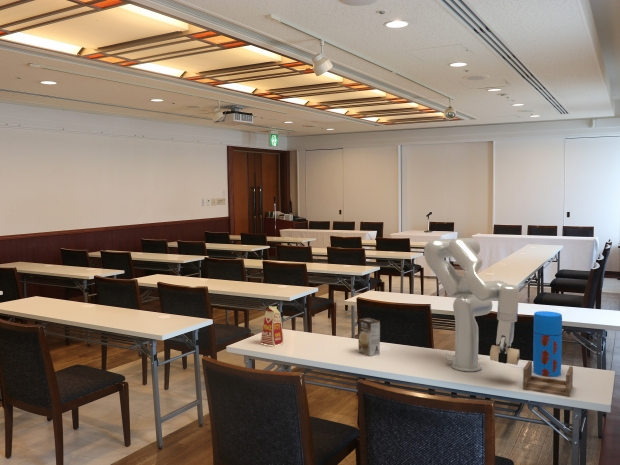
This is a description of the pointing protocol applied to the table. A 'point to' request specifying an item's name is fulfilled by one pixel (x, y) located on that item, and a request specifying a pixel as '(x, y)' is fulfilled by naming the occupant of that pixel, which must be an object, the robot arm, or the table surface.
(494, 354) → the kraft roll
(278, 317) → the milk carton
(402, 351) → the table surface
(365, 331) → the coffee box
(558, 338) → the thermos
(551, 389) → the cradle
